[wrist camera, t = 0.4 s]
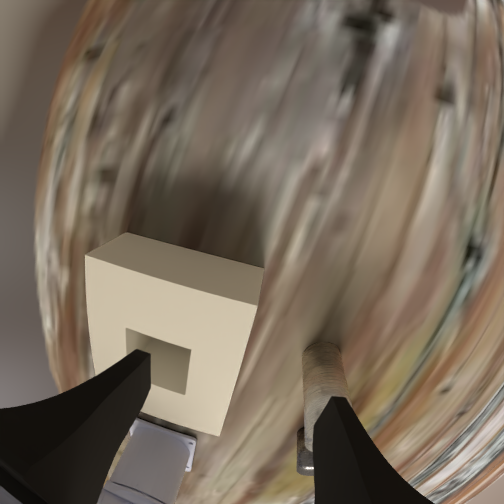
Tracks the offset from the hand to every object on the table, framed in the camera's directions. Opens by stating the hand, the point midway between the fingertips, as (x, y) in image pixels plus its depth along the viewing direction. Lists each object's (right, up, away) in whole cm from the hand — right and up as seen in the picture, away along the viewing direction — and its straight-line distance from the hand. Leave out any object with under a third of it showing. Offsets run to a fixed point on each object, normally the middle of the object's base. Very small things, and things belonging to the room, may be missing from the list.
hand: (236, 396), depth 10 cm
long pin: (+6, -2, +10) cm, 12 cm away
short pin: (+7, -12, +14) cm, 20 cm away
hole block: (-5, 0, +11) cm, 12 cm away
